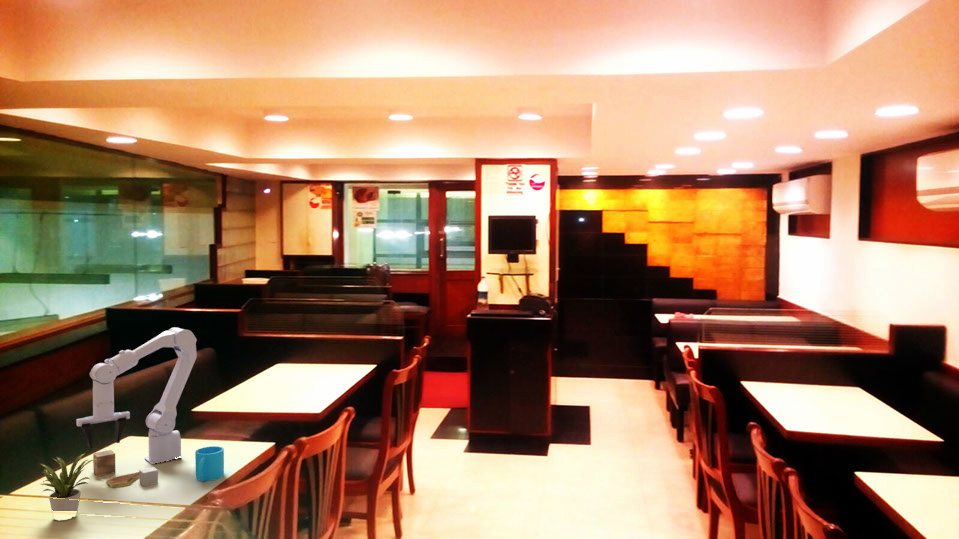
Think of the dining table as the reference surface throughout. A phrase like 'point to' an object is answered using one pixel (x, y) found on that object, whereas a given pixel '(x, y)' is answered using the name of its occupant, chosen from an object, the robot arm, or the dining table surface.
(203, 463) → the mug
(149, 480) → the light-grey block
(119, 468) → the dining table surface
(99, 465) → the walnut block
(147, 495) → the dining table surface
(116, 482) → the shard
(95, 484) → the dining table surface
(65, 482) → the house plant
